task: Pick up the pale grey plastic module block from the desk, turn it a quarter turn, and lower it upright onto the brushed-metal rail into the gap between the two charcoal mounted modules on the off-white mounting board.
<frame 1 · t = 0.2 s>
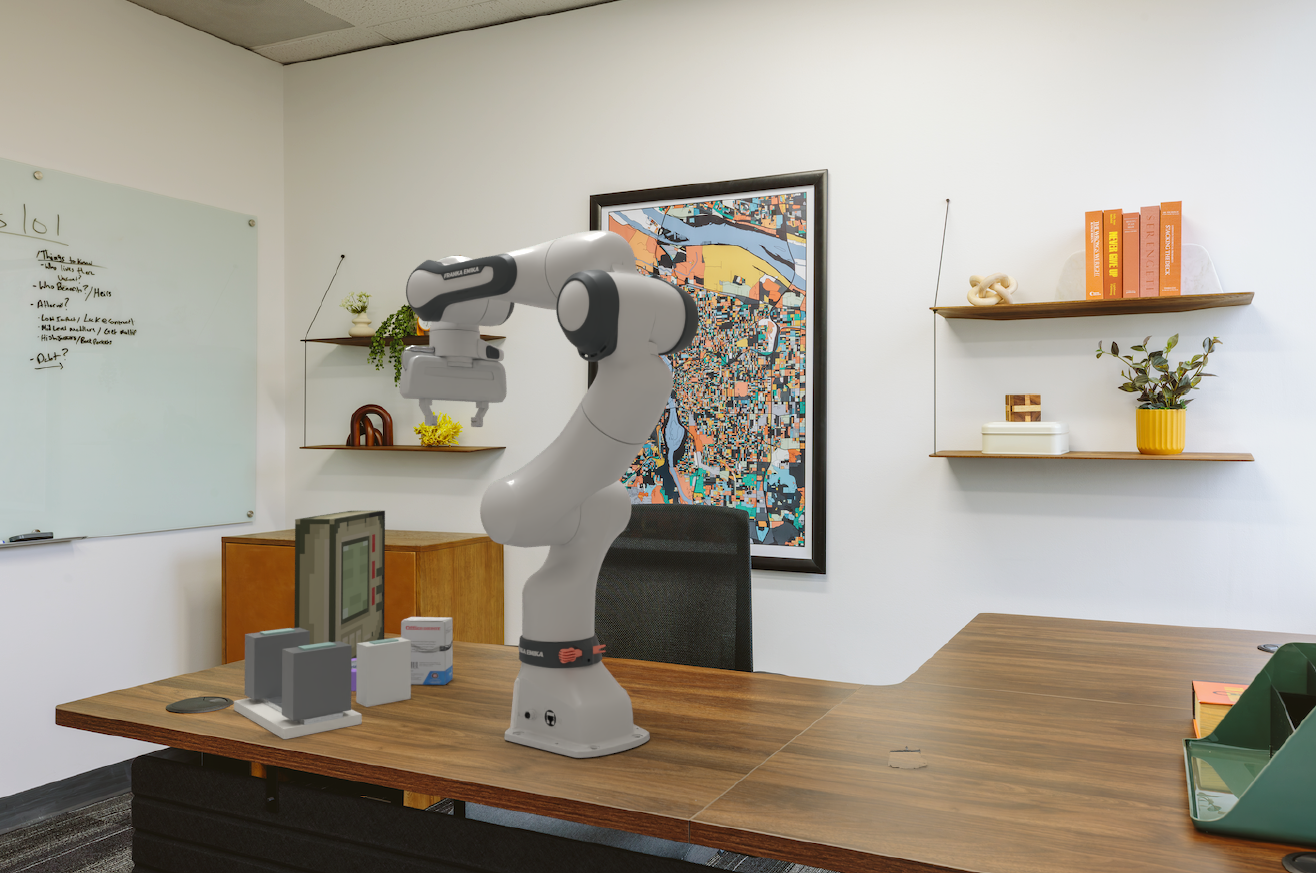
hand: (454, 426, 166), 47 cm above the table, tool pointing down, fingers open, 8 cm apart
mounted modules: (296, 669, 149), on the rail, point 7 cm above the table
ink box: (427, 683, 173), on the table
masking tape: (364, 685, 172), on the table
control panel: (342, 662, 191), on the table
electrical connector: (910, 772, 124), on the table
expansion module: (383, 700, 159), on the table
rail: (296, 704, 149), on the mounting board, point 1 cm above the table
mounting board: (296, 716, 149), on the table
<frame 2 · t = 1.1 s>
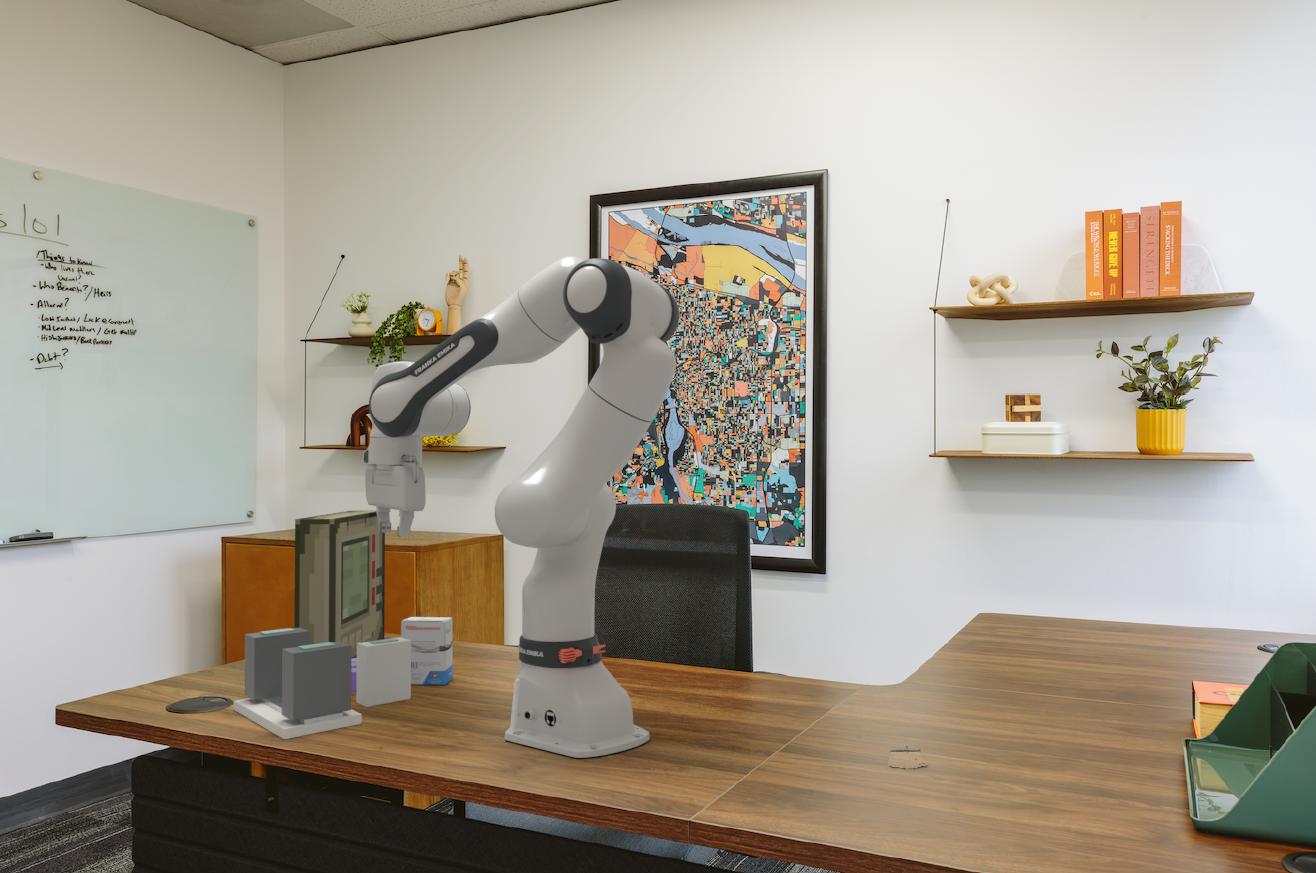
hand: (394, 534, 161), 28 cm above the table, tool pointing down, fingers open, 8 cm apart
nothing on the table moved.
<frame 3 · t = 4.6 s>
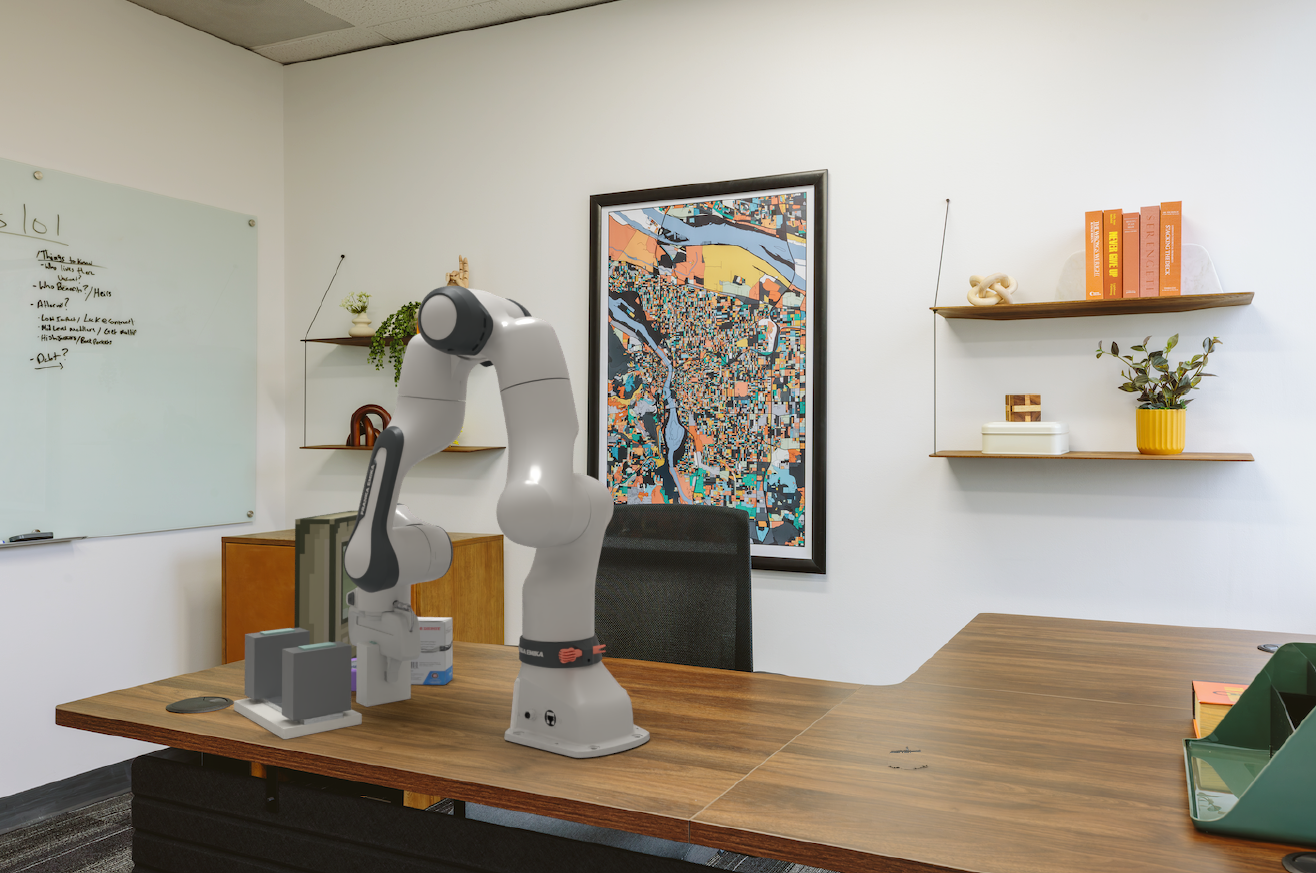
hand: (383, 679, 159), 4 cm above the table, tool pointing down, fingers closed on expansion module, 4 cm apart
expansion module: (383, 700, 159), on the table, touching gripper
everything else where it was.
when the fingers open (8 cm above the table, at t = 11.5 s): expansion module drops 2 cm, resting on rail.
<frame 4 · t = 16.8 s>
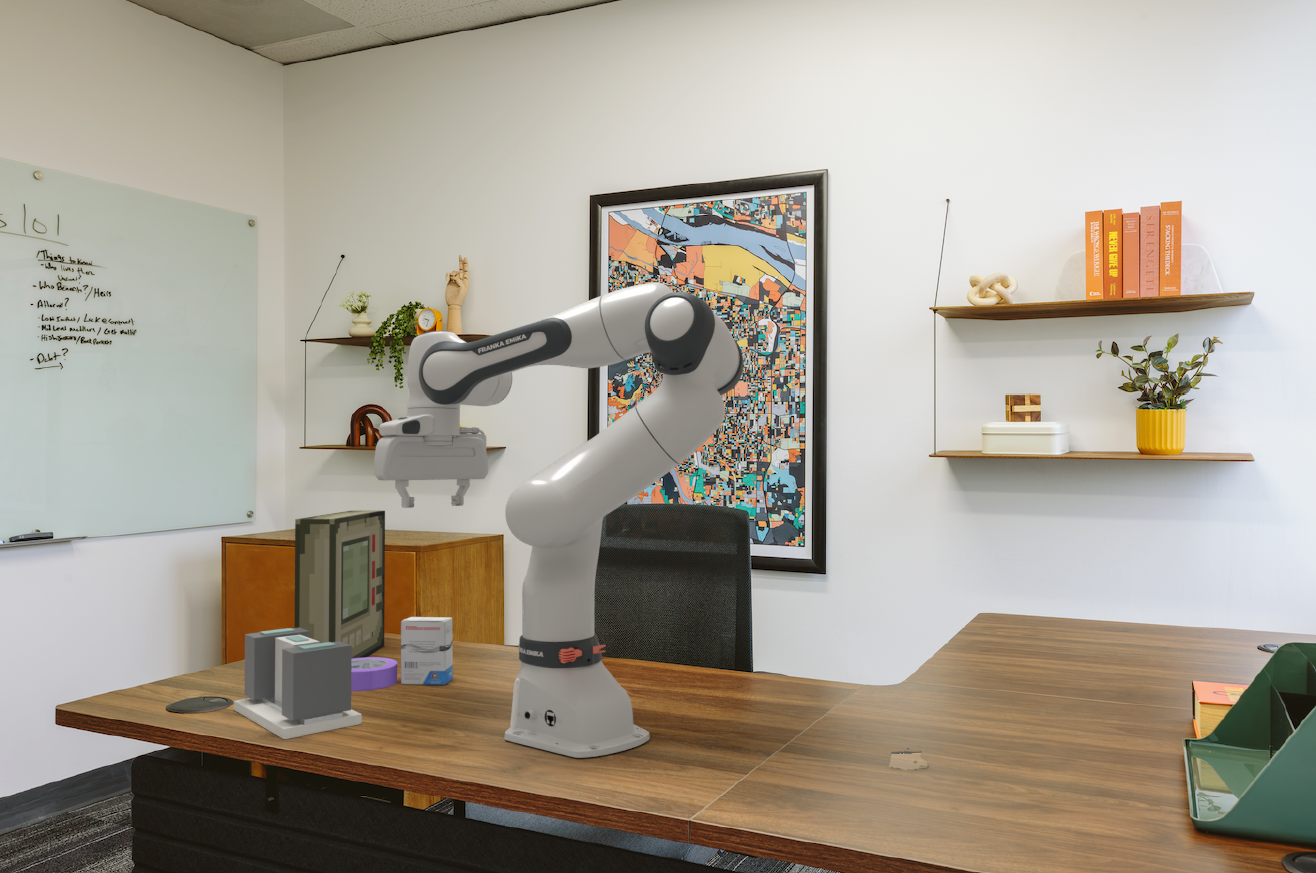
hand: (433, 506, 160), 33 cm above the table, tool pointing down, fingers open, 8 cm apart
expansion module: (296, 702, 149), point 2 cm above the table, touching rail
everything else where it was.
at the end: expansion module 0.1 cm from the target spot, point 2.3 cm above the table; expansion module tilted 0°; the gripper is holding nothing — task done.
